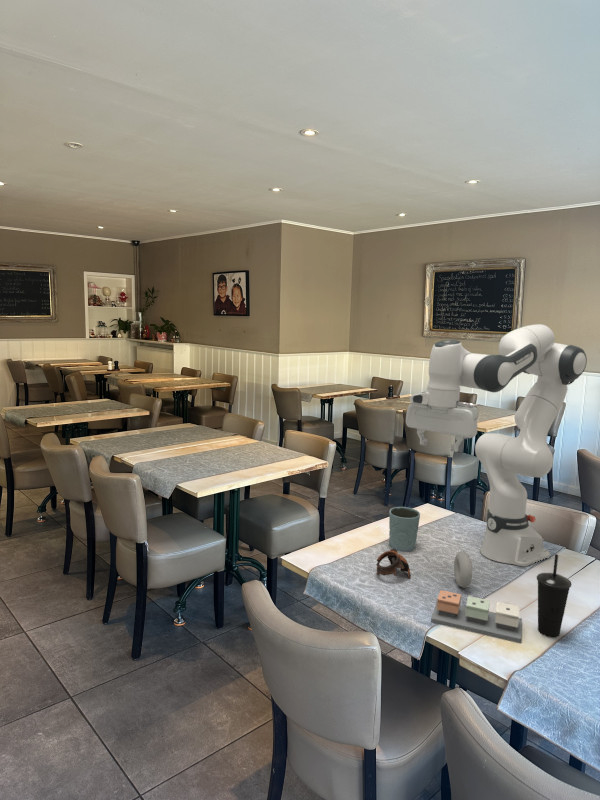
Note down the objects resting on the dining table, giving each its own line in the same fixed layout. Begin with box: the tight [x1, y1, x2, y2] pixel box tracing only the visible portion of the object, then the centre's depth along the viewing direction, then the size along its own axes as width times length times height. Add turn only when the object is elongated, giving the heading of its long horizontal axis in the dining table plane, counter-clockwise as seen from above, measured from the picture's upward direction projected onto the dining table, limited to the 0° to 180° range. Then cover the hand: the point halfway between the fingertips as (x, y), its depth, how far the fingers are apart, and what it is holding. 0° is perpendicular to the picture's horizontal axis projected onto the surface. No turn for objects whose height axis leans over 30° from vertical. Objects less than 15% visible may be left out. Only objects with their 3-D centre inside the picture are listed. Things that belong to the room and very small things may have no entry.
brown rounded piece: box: [376, 548, 412, 580], centre depth 164 cm, size 12×10×8 cm
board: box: [430, 602, 523, 644], centre depth 139 cm, size 21×10×2 cm, turn 68°
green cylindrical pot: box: [388, 506, 421, 552], centre depth 184 cm, size 10×10×12 cm
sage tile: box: [465, 595, 491, 621], centre depth 139 cm, size 5×5×3 cm
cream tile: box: [495, 601, 520, 628], centre depth 136 cm, size 5×5×3 cm
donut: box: [453, 550, 473, 589], centre depth 158 cm, size 10×4×10 cm, turn 178°
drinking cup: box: [536, 553, 572, 639], centre depth 135 cm, size 8×8×20 cm
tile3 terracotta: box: [436, 589, 462, 614], centre depth 141 cm, size 5×5×3 cm
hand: (438, 448), depth 155 cm, fingers open, 8 cm apart
